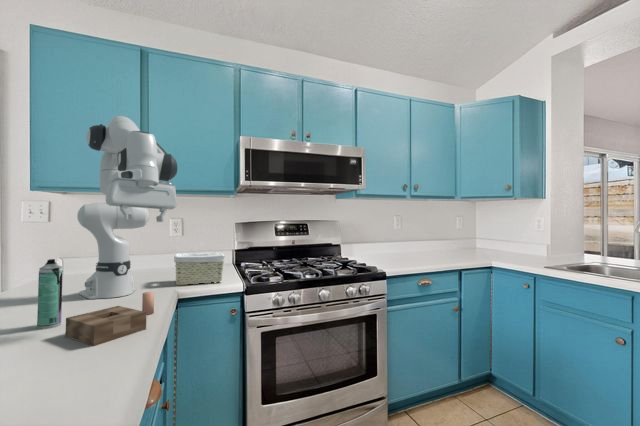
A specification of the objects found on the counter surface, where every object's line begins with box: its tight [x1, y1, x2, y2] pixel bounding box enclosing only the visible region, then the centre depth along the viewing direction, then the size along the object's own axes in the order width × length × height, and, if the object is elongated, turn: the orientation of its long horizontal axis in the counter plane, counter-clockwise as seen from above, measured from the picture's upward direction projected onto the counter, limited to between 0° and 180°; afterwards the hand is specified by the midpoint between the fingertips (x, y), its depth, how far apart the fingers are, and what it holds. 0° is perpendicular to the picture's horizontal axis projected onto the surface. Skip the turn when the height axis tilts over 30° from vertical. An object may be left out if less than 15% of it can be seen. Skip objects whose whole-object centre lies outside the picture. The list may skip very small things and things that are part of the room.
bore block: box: [65, 305, 147, 347], centre depth 89 cm, size 14×14×5 cm
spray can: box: [36, 258, 64, 330], centre depth 95 cm, size 6×6×20 cm
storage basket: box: [173, 252, 226, 286], centre depth 162 cm, size 24×16×15 cm
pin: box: [141, 291, 155, 316], centre depth 108 cm, size 4×4×7 cm
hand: (144, 221), depth 98 cm, fingers open, 8 cm apart
